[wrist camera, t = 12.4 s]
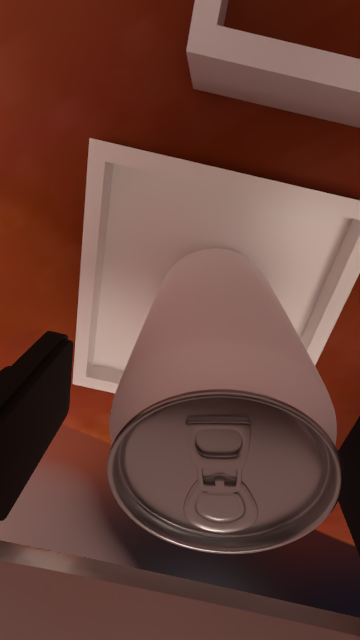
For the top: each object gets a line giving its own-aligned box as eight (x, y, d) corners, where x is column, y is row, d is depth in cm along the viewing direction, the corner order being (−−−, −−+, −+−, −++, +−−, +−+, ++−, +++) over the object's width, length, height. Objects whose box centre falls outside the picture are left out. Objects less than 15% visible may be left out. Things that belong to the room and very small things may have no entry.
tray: (102, 141, 16) (89, 137, 14) (370, 203, 16) (390, 207, 14) (83, 366, 22) (72, 384, 20) (277, 409, 22) (283, 430, 20)
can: (164, 350, 20) (113, 557, 9) (153, 249, 17) (61, 377, 6) (267, 347, 19) (342, 569, 9) (273, 242, 17) (393, 372, 6)
